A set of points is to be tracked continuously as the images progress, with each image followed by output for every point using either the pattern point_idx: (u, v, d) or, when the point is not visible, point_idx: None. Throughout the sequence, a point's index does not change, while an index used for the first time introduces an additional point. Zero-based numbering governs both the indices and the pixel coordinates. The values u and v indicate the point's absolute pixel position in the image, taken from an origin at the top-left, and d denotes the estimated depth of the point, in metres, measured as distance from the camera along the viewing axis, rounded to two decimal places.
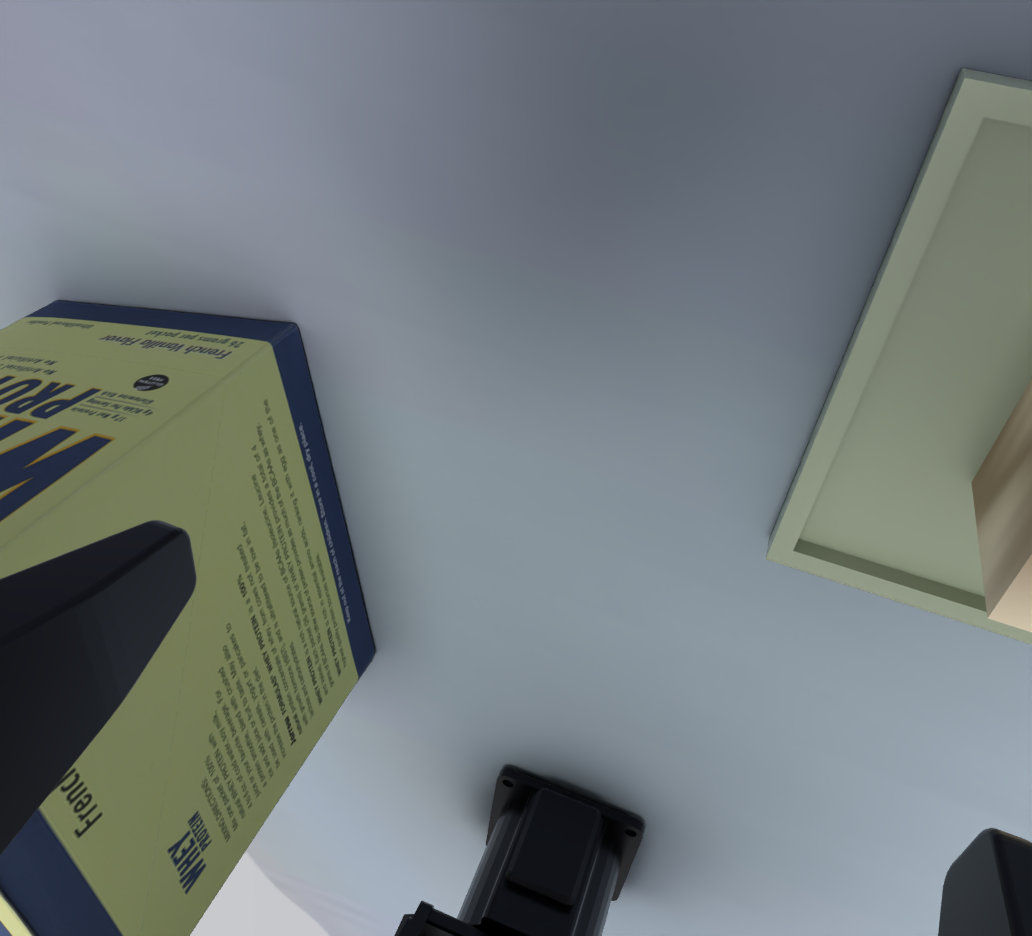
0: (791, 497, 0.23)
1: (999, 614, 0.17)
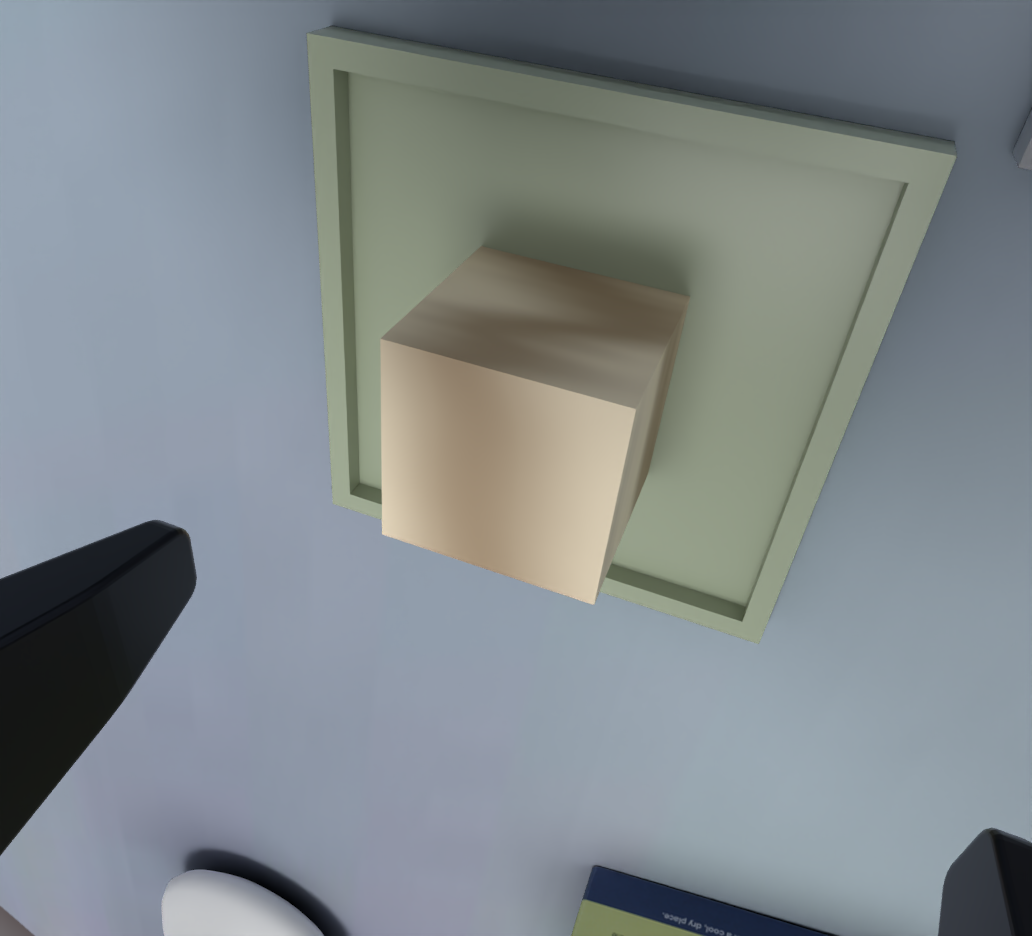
0: (675, 614, 0.23)
1: (587, 596, 0.18)
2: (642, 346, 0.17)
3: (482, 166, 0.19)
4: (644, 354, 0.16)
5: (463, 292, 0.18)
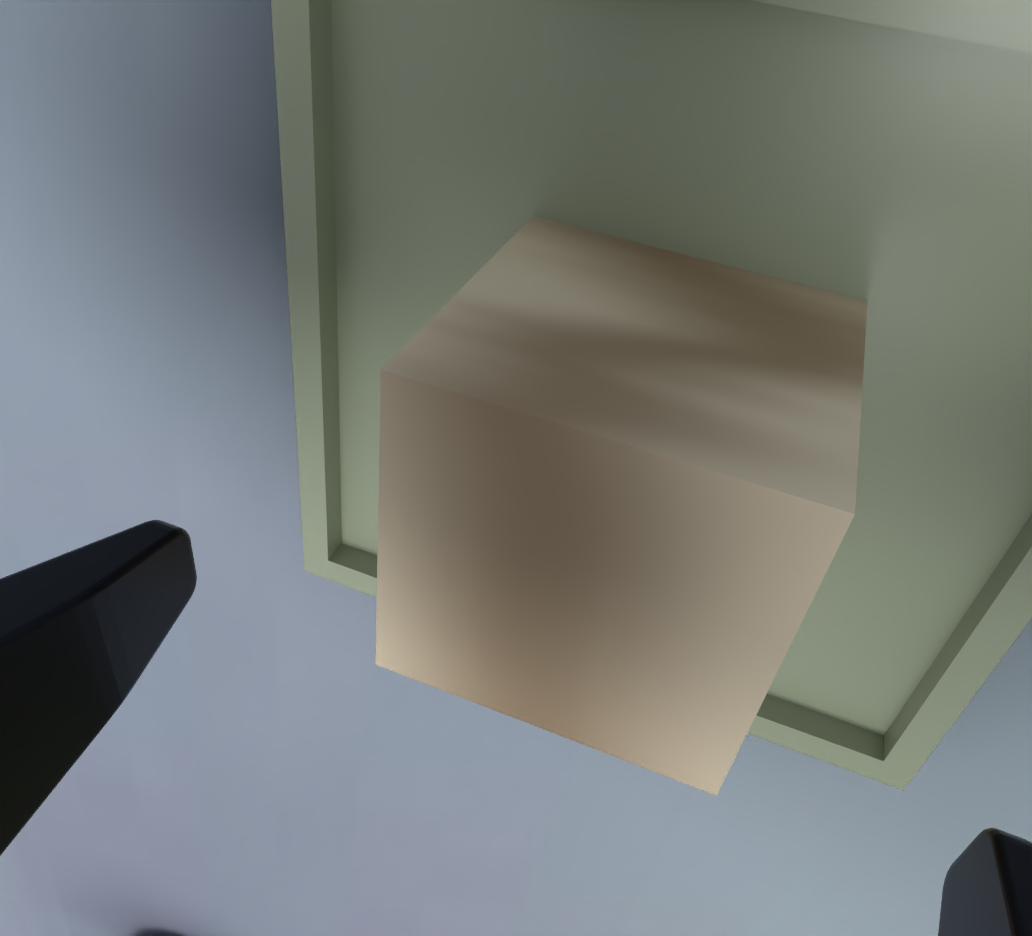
0: (783, 743, 0.17)
1: (706, 782, 0.11)
2: (824, 386, 0.10)
3: (543, 87, 0.12)
4: (832, 401, 0.10)
5: (515, 288, 0.11)
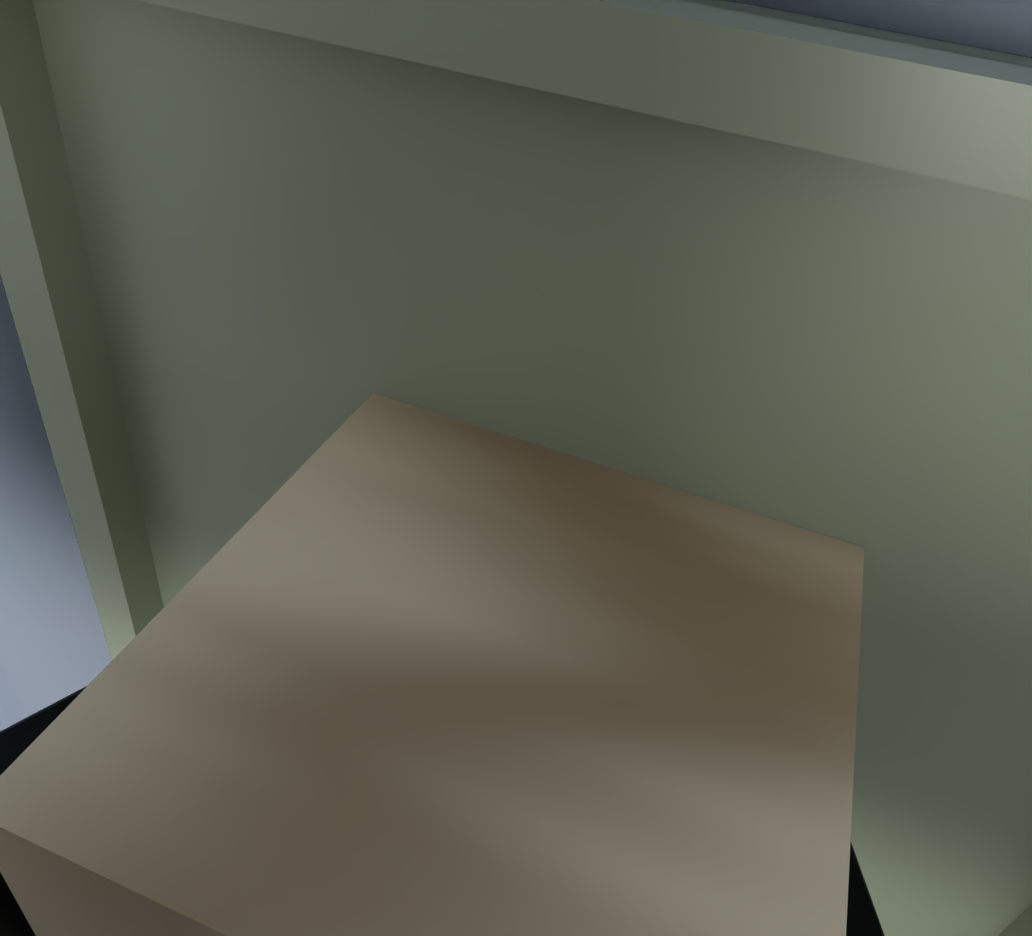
0: None
1: None
2: (787, 781, 0.06)
3: (364, 220, 0.08)
4: (801, 822, 0.05)
5: (296, 560, 0.07)
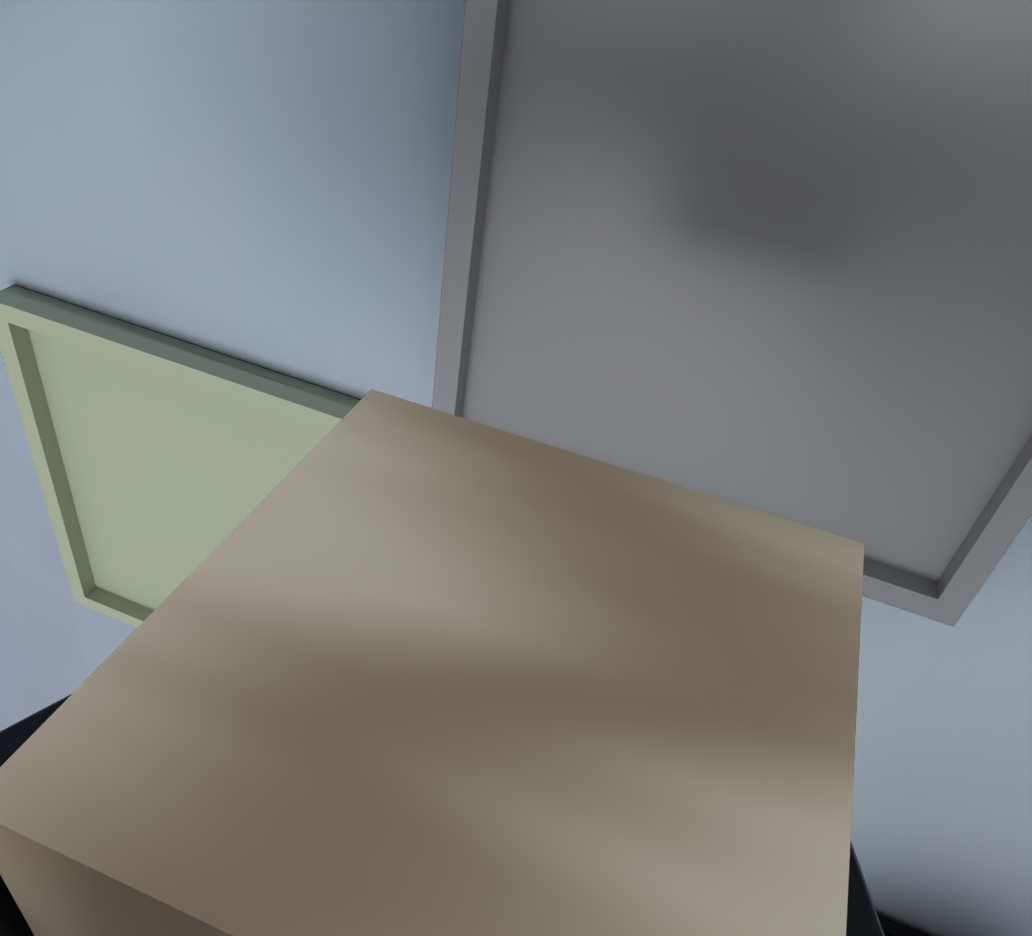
0: None
1: None
2: (787, 777, 0.06)
3: (126, 390, 0.25)
4: (800, 819, 0.05)
5: (294, 556, 0.07)
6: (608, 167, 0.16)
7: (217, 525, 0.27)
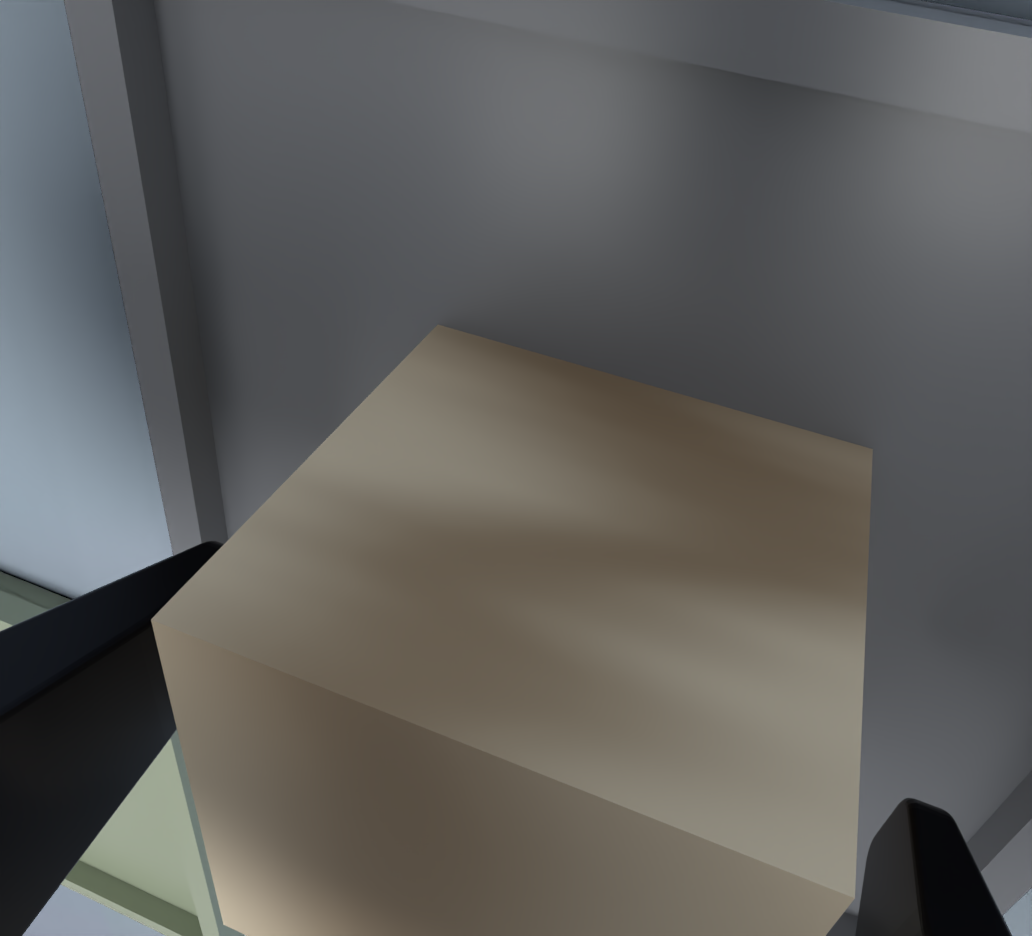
0: (159, 929, 0.25)
1: None
2: (811, 615, 0.07)
3: None
4: (823, 643, 0.07)
5: (389, 450, 0.08)
6: (361, 388, 0.11)
7: None
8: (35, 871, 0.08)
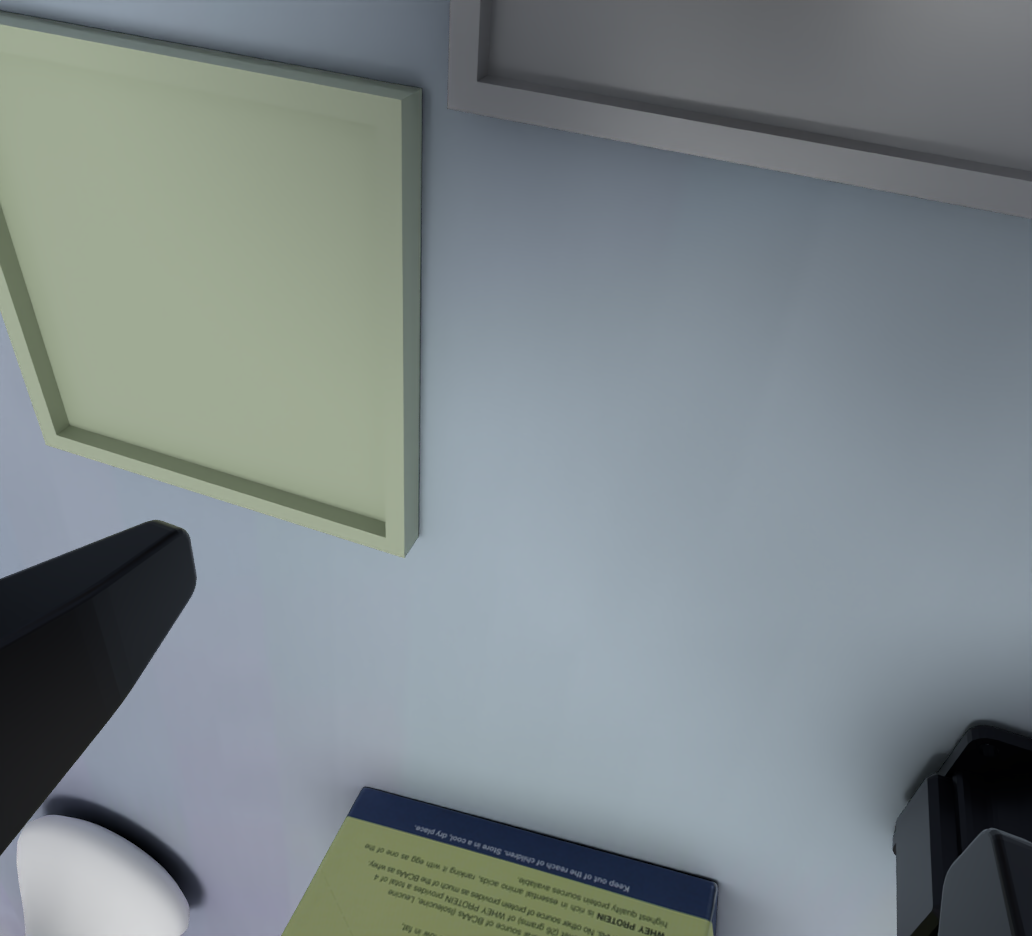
0: (335, 534, 0.26)
1: None
2: None
3: (75, 123, 0.21)
4: None
5: None
6: None
7: (198, 304, 0.23)
8: None
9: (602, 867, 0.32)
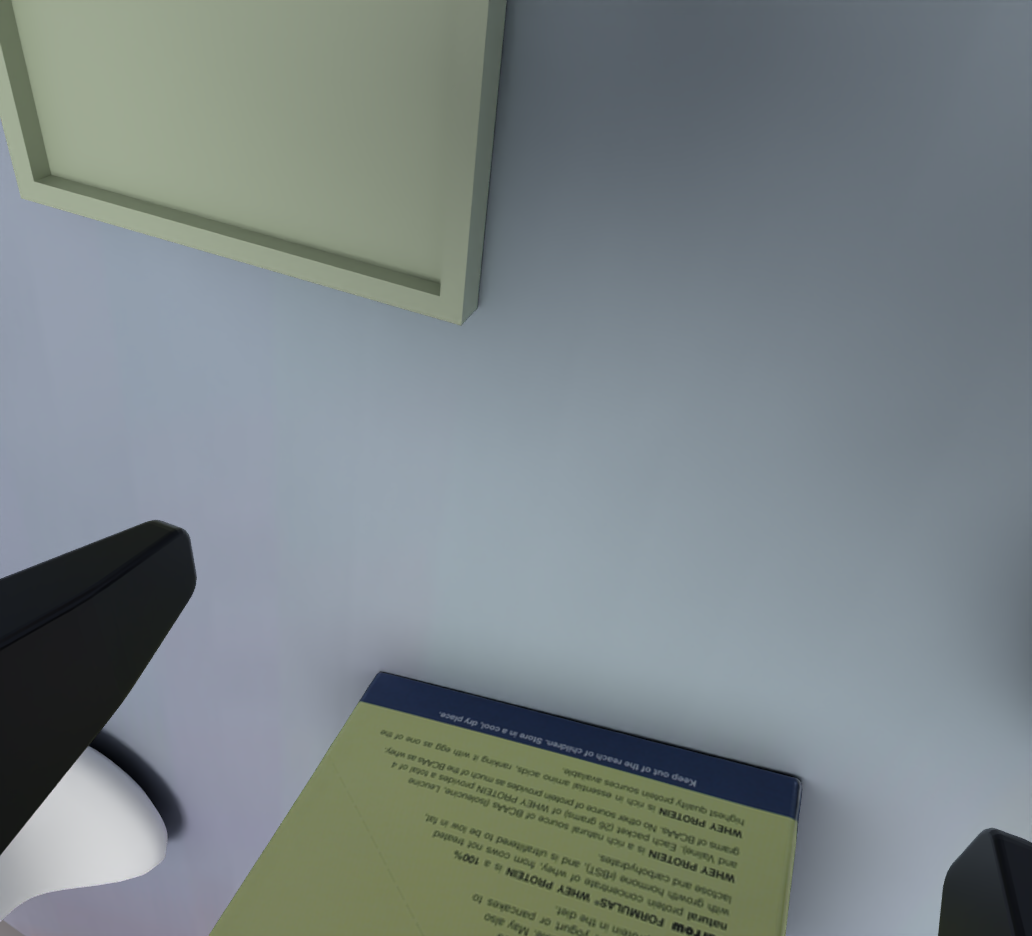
0: (375, 299, 0.21)
1: None
2: None
3: None
4: None
5: None
6: None
7: None
8: None
9: (662, 760, 0.27)
